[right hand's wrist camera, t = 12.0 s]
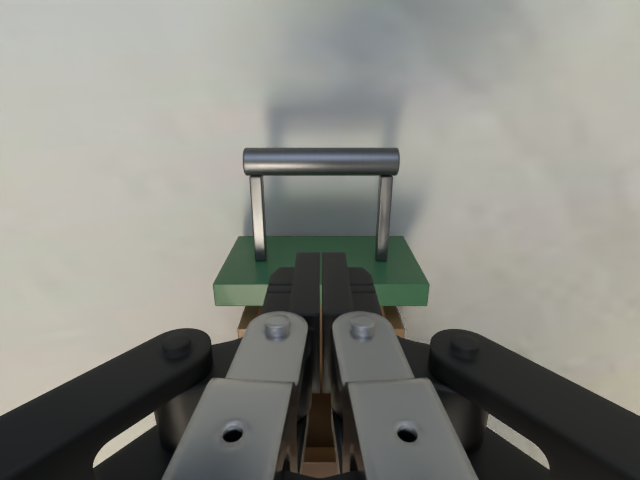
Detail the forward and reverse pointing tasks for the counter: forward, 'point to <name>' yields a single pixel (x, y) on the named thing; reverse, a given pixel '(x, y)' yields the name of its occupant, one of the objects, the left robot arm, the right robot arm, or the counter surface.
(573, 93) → the counter surface
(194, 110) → the counter surface
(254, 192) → the drawer
